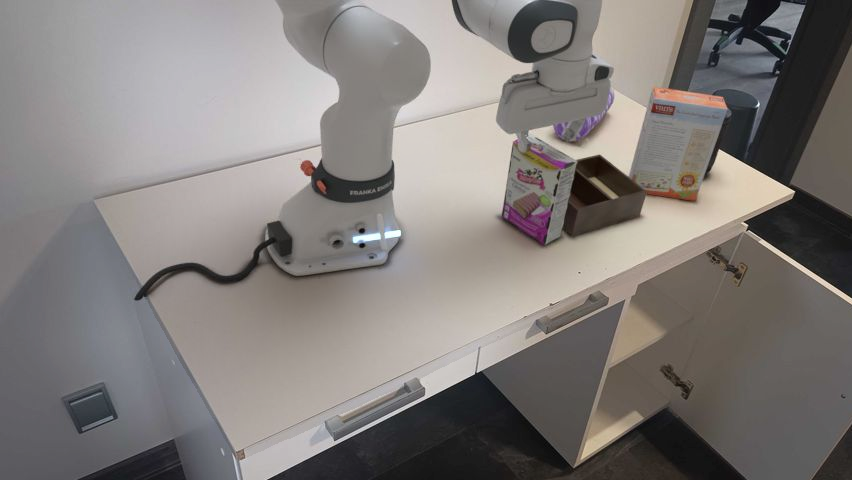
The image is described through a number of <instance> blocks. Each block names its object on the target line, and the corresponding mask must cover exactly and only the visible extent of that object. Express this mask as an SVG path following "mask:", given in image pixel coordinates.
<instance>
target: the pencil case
mask: <svg viewBox="0 0 852 480" xmlns="http://www.w3.org/2000/svg"><path fill="white" fill-rule="evenodd" d="M614 101H615V91H614V88H613V85H611V87H610V94H609V99H608V103H607V106H606V109H605V110H604V111H603V113H602V114H601V115H598V116H593V117H588V118H586V120H585V123H584V125H583V126H582V127H581V129H580V130H579V132H577V137H576V140H575V141H574V142H578V141H580V140H582V139H583V138H585V137H586V136H588V134H589V133H590V132H591V131H592V130H593V129H594V128H595V127H596V126H597V125H598V124H599V123H600V122H601V121H602V119H603V118H604V117H605V116H606V114H607V113H608V111H609V109H610V108H611V106H612V104H614ZM571 122H572V121H570V122H565V123H561V124H556V125H552V127H553V130H554V132H555V134H556V135H557V136H558V137H559V138H560V139H563V140H564V141H566V140H565V139H564V138H563V135H564V130H565V129H567V128H569V126H570V124H571Z"/></svg>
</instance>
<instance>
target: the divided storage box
mask: <svg viewBox="0 0 852 480" xmlns="http://www.w3.org/2000/svg"><path fill="white" fill-rule="evenodd" d="M575 160H576V161H577V166H576V171H575V175H574V179H573V184H572V188H571V193H570V197H569V201H568V206H567V210H566V215H565V219H564V224H563V228H562V230H564V231H565V232H566V233H568V235H570V236H571V237H575V236H579V235H582V234H585V233H588V232H593V231H595V230H598V229H601V228H605V227H609V226H612V225H615V224H618V223H622V222H625V221H628V220H632V219H635V218H638V217H640V216H641V213H642V209H643V207H644V203H645V200H646V197H647V195H648V194H647V191H646V190H644V189H643V188H642V187H641V186H639V185H638V184H637V183H635V182H634V181H633V180H632V179H630V178H629V175H627V174H625V173H624V172H623V171H622V170H620V169H619V168H618V167H617V166H615V165H614V163H611V161H609V160H608V159H606V158H605V157H604V156H603V155H601V154H595V155H591V156H586V157H583V158H578V159H575Z"/></svg>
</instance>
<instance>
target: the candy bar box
mask: <svg viewBox="0 0 852 480" xmlns="http://www.w3.org/2000/svg"><path fill="white" fill-rule="evenodd" d="M525 137H526V138H527V139H528V140H529V141H530V142H532V145H531V147H530V148H531V150H530V151H528V152H524V153H522V152H521V151H520V150H519V149H518V142H519V140H518V138H517V139H514V140H513V141H512V146H511V152H510V159H509V166H508V171H507V180H506V184H505V185H506V186H505V192H504V200H503V203H502V204H503V205H502V211H501V218H502V219H504V220H505V221H507V222H508V223H510V224H512V225H513V226H514V227H516V228H518V229H519V230H521V231H522V232H524V233H525V234H526V235H528V236H529V237H531V238H533V239H534V240H536V241H537V242H539V243H540V244H541V245H543V246H547V245H548V244H550V243H551V242H553V241H555V240H557V239H559V238H560V237H561V236H562V232H563V224H564V219H565V215H566V210H567V206H568V201H569V197H570V193H571V188H572V184H573V179H574V175H575V171H576V166H577V161H576V160H577V159H574V158H573V157H571V156H570V155H567V154H566V153H564V152H562V151H560V150H559V149H557V148H555V147H554V146H552V145H551V144H548V143H547V142H545V141H544V140H541V139H539V137H537V136H535V135H533V134H531V133H528V135H525Z"/></svg>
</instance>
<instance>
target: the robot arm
mask: <svg viewBox="0 0 852 480" xmlns="http://www.w3.org/2000/svg"><path fill="white" fill-rule="evenodd" d="M274 1H275V3H276V4H277V6H278V8H279V10H280V12H281V14H282V29H283V34H284V37H285V38H286V40H287V42H288V43H289V45H291V47H292V48H293V49H294V50H295V51H296V52H297V54H299V55H300V56H301V58H303V59H304V60H305V61H306V62H307V63H308V64H310V65H311V66H312V67H314V68H316V69H318V70H319V71H322V72H323V73H325V74H327V75H328V76H330V77H332V78H333V79H335V81H336V84H337V86H338V99H337V101H336V102H335V103H333V104H332V105H330V106H329V107H327V108H326V109H325V111H324V112H323V113H322V115H321V118H320V120H319V132H320V133H319V135H320V148H321V149H320V150H321V158H320V160H319V163H318V164H317V166H315V165H314V164H313V162H312V161H311V160H309V159H305V160H303V161H301V163H300V166H299V168H300V170H301V171H302V172H303V174H304V176H307V177H310V182H309V183H308V184H305V186H304V187H302V189H300V190H299V191H298V192H296V193H295V194H294V195H292V196H291V197H290V198H289V199H287V200H285V202H283V203H282V205H281V207H280V209H279V213H278V219H277V220H276V221H271V222H268V223H267V222H266V229H265V233H264V234H265V235H264V238H265V239H264V241H262V242H261V243H259V244H258V245H257V246H256V247H255V249H254V250H253V254H252V255H253V256H252V258H251V260H250V261H249V263H248V264H247V265H246V267H245V268H244V269H242V271H239V272H238V273H235V274H230V275H221V274H219V273H216V272H215V271H213V270H212V269H210V268H209V267H208V266H205V265H203V264H201V263H197V262H183V263H178V264H173V265H170V266H166V267H165V268H162V269H161V270H159V271H157V272H155V273H154V274H153V275H152V276H151V277H150V278H149V279H148V280H147V281H146V282H145V283H144V284H143V285H142V286H141V288H140V289H139V290H138V292H137V293H136V295H135V296H134V298H133V299H134V301H136V302H137V301H142V299H143V298H144V297H145V296H146V294H147V292H149V290H150V289H151V288H152V287H153V286H154V284H156V283H157V282H158V281H159V280H160V279H162V278H163V277H165V276H166V275H168V274H171V273H174V272H177V271H182V270H188V269H192V270H198V271H199V272H201V273H203V274H205V276H208V277H209V278H211V279H213V280H215V281H217V282H218V281H219V282H225V283H228V282H235V281H238V280H241V279H244V278H245V277H247V276H248V275H249V273H251V271H252V270H253V269H254V268H255V266H256V265H257V264H258V262H259V260H260V257H261V252H262V251H264V249H266V250H267V252H268V253H269V255H270V257H271V258H272V260H273V261H274V263H275V264H276V265H277V266H278V267H279V268H280V269H281V270H283V271H284V272H286V273H288V274H289V275H292V276H295V277H301V276H310V275H317V274H324V273H331V272H338V271H344V270H351V269H352V270H353V269H359V268H366V267H373V266H380V265H384V264H385V263H386V262H387V260H388V257H389V253H390V251H391V250H392V249H393V248H395V246H396V245H397V243H398V242H399V240H400V237H401V235H402V232H401V229H400V227H399V224H398V222H397V221H398V220H397V217H396V213H395V206H394V198H393V197H394V196H393V191H394V190H395V180H396V179H395V178H396V175H395V162H394V160H393V145H394V129H395V123H396V119H397V116H398V113H399V112H400V110H401V108H402V107H404V106H406V105H408V104H410V103H411V102H413V101H415V99H417V98H418V97H419V96H420V95H421V94H422V92H423V91H424V90H425V88H426V86H427V84H428V82H429V79H430V75H431V71H432V70H431V67H432V60H431V55H430V51H429V49H428V48H427V46H426V45H425V43H423V42H422V40H420V39H419V38H418V36H416V35H415V34H414V33H413V32H411V30H409V29H408V28H407V27H406V26H404V25H403V24H401V23H400V22H398V21H395V20H393V19H391V18H389V17H387V16H386V15H383V14H381V13H379V12H378V11H375V10H374V9H372V8H371V7H369V6H367V5H366V4H365V3H364V2H363V1H361V0H274ZM451 5H452V9H453V13H454V15H455V18H456V20H457V22H458V24H459V25H460V26H461V28H463V29H464V30H465V31H467V32H469V33H471V34H473V35H475V36H477V37H479V38H481V39H482V40H484V41H485V42H487V43H488V44H490V45H491V46H493V47H494V48H496V49H498V50H499V51H501V52H502V53H504V54H505V55H507V56H508V57H510V58H512V59H514V60H515V61H517V62H520V63H523V64H532V66H531V71H528V72H527V71H526V72H524V73H516V74H513V75H511V77H510V78H509V79H507V80H505V82H503V85H502V89H501V94H500V99H499V102H498V106H497V110H496V116H495V122H496V124H497V126H498V127H499V128H500V129H501V130H502V131H504V133H506V134H507V135H514V134H515V136H516V138H517V139H518V140H519V142H518V149H519V150H520V151H521V152H522V153H524V152H528V151H530V150H531V148H530V147H531V145H532V142H530V141H529V140H528V139H527V138H526V137H525V136H527V135H529V131H532V130H537V129H541V128H546V127H547V128H548V127H551V126H553V125H556V124H561V123H565V122H570V121H572V122H571V124H570V126H569V128H567V129H565V130H564V135H563V138H564V139H565V140H564V139H563V138H562V139H563V140H564V141H566V142H567V143H570V142H576V141H575V140H576V137H577V132H579V130H580V129H581V127H582V126H583V125H584V123H585V120H586V118H588V117H593V116H598V115H601V114H602V113H603V111H604V110H605V109H606V106H607V103H608V99H609V94H610V87H611V86H612V84H611V78H612V76H613V74H614V72H615V68H614V66H613V65H612V64H610V63H609V62H608V61H607V60H605V59H604V58H602V57H601V56H599V55H598V54H596V53H594V52H593V49H594V48H593V37H594V35H595V33H596V31H597V29H598V26H599V21H600V16H601V11H602V5H603V0H451Z"/></svg>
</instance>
